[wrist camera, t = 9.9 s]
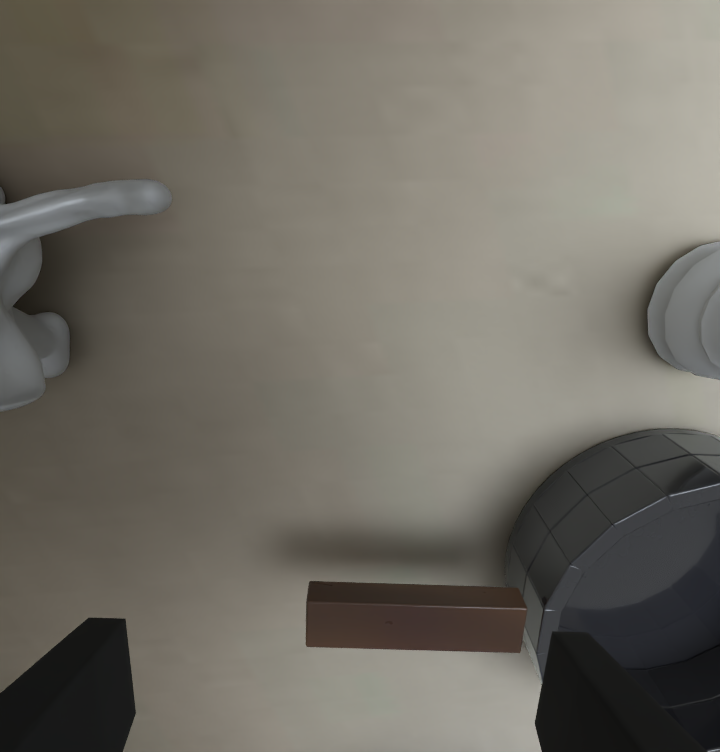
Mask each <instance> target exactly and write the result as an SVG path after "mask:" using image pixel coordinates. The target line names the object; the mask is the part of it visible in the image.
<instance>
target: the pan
mask: <svg viewBox="0 0 720 752" xmlns="http://www.w3.org/2000/svg"><path fill="white" fill-rule="evenodd" d="M505 580H506V587H516V588H519V590H520V592H521V595H522V597H523V599H524V602H525V604H526V606H527V615H526V621H525V627H524V633H523V640H524V642H525V645H526V647H527V650H528V652H529V655H530V657H531V660H532V662H533V665H534V667H535V670H536V672H537V675H538V677H539V680H540V682H541V685H542V682H543V677H544V671H545V666H546V661H547V655H548V650H549V645H550V639H551V634H552V631H558V632H588V633H589V634H590V635H591V636H592V637H593V638H594V639H595V640H596V641H597V642H598V643H599V644H600V645H601V646H602V647H603V648H604V649H605V650H606V651H607V652H608V653H609V654H610V655H611V656H612V657H613V658H614V659H615V660H616V661H617V662H618V663H619V664H620V665H621V666H622V667H623V668H624V669H625V670H626V671H627V672H628V673H629V674H630V675H631V676H632V677H633V678H634V679H635V680H636V681H637V682H638V683H639V684H640V685H641V686H642V687H643V688H644V689H645V690H646V691H647V692H648V693H649V694H650V695H651V696H652V697H653V698H654V699H655V700H656V701H657V702H658V703H659V704H660V706H661V707H662V708H663V709H664V710H666V711H667V712H668V713H669V714H670V715H671V716H672V717H673V718H674V719H675V720H676V721H677V722H678V723H679V724H680V725H681V726H682V727H683V728H684V729H685V730H686V731H687V732H688V733H689V734H690V735H691V736H692V737H693V738H694V739H695V740H696V741H697V742H698V743H699V744H700V745H701V746H702V747H703V748H704V749H705V750H706V751H707V752H720V437H719V436H717V435H713V434H709V433H704V432H700V431H694V430H684V429H655V430H648V431H641V432H635V433H632V434H628V435H624V436H620V437H617V438H614V439H611V440H609V441H606V442H604V443H601V444H598V445H596V446H594V447H592V448H590V449H589V450H587V451H585V452H583V453H581V454H579V455H578V456H576V457H575V458H573V459H572V460H570V461H569V462H567V463H566V464H564V465H563V466H561V467H560V468H559V469H558V470H557V471H556V472H554V473H553V474H552V475H551V476H550V477H549V478H547V480H546V481H545V482H544V483H543V484H542V485H541V486H540V487H539V488H538V489H537V490H536V491H535V493H534V494H533V495H532V497H531V498H530V499H529V501H528V502H527V504H526V505H525V506H524V508H523V510H522V512H521V513H520V515H519V517H518V519H517V521H516V523H515V525H514V528H513V531H512V533H511V536H510V539H509V543H508V547H507V552H506V559H505Z"/></svg>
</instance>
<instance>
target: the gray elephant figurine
mask: <svg viewBox="0 0 720 752" xmlns="http://www.w3.org/2000/svg"><path fill="white" fill-rule="evenodd" d="M171 202H172V195H171V192H170V190H169V189H168V188H167V187H166V186H165V185H164V184H163V183H161V182H159V181H156V180H150V179H136V180H116V181H108V182H102V183H94V184H90V185H87V186H84V187H79V188H73V189H62V190H55V191H51V192H46V193H41V194H37V195H34V196H32V197H29V198H26V199H23V200H20V201H17V202H14V203H10V204H4V203H5V194H4V191H3V189H2V188H1V186H0V411H6V410H11V409H15V408H19V407H22V406H25V405H27V404H29V403H32V402H33V401H35V400H37V399H38V398H40V397H41V396H42V395H43V394H44V392H45V389H46V385H45V378H52V377H56V376H58V375H60V374H62V373H63V372H64V371H65V370H66V368H67V366H68V364H69V359H70V333H69V328H68V325H67V323H66V321H65V320H64V319H63V318H62V317H61V316H60V315H58V314H56V313H52V312H43V313H39V314H36V315H28V314H26V313H24V312H22V311H20V310H18V309H16V308H14V307H13V305H14V304H15V303H16V302H17V300H18V299H19V298H20V297H21V296H22V295H23V294H24V293H26V292H27V291H28V290H29V289H30V288H31V287H32V286H33V285H34V283H35V282H36V280H37V278H38V275H39V273H40V269H41V265H42V247H41V242H40V239H39V237H41V236H44V235H47V234H51V233H55V232H58V231H60V230H63V229H66V228H69V227H72V226H75V225H77V224H80V223H82V222H85V221H88V220H93V219H97V218H109V217H116V216H122V215H153V214H157V213H160V212H163V211H165V210H166V209H167V208H168V207H169V206H170V205H171Z"/></svg>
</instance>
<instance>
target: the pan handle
mask: <svg viewBox="0 0 720 752" xmlns="http://www.w3.org/2000/svg"><path fill="white" fill-rule="evenodd" d="M526 615H527V606H526V604H525V602H524V599H523V597H522V595H521V592H520V590H519V588H516V587H484V586H451V585H419V584H387V583H355V582H323V581H310V582H309V586H308V594H307V601H306V646H307V647H329V648H364V649H399V650H434V651H468V652H503V653H520V651H521V645H522V639H523V633H524V627H525V621H526Z"/></svg>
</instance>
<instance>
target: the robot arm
mask: <svg viewBox="0 0 720 752" xmlns="http://www.w3.org/2000/svg"><path fill="white" fill-rule="evenodd" d="M135 714H136V710H135V701H134V692H133V683H132V674H131V665H130V656H129V647H128V638H127V629H126V620H125V619H117V618H88V619H87V620H85V621H84V622H83V623H82V624H81V625H79V626H78V627H77V628H76V629H75V630H74V631H72V632H71V633H70V634H69V635H68V636H67V637H65V638H64V639H63V640H62V641H61V642H60V643H58V644H57V645H56V646H55V647H54V648H53V649H51V650H50V651H49V652H48V653H47V654H46V655H44V656H43V657H42V658H41V659H40V660H39V661H37V662H36V663H35V664H34V665H33V666H32V667H30V668H29V669H28V670H27V671H26V672H25V673H23V674H22V675H21V676H20V677H19V678H18V679H16V680H15V681H14V682H13V683H12V684H11V685H9V686H8V687H7V688H6V689H5V690H4V691H2V692H1V693H0V752H123V749H124V746H125V743H126V740H127V737H128V734H129V731H130V728H131V726H132V723H133V720H134V717H135ZM535 726H536V730H537V734H538V738H539V742H540V746H541V750H542V752H707V751H706V750H705V749H704V748H703V747H702V746H701V745H700V744H699V743H698V742H697V741H696V740H695V739H694V738H693V737H692V736H691V735H690V734H689V733H688V732H687V731H686V730H685V729H684V728H683V727H682V726H681V725H680V724H679V723H678V722H677V721H676V720H675V719H674V718H673V717H672V716H671V715H670V714H669V713H668V712H667V711H666V710H664V709H663V708H662V707H661V706H660V704H659V703H658V702H657V701H656V700H655V699H654V698H653V697H652V696H651V695H650V694H649V693H648V692H647V691H646V690H645V689H644V688H643V687H642V686H641V685H640V684H639V683H638V682H637V681H636V680H635V679H634V678H633V677H632V676H631V675H630V674H629V673H628V672H627V671H626V670H625V669H624V668H623V667H622V666H621V665H620V664H619V663H618V662H617V661H616V660H615V659H614V658H613V657H612V656H611V655H610V654H609V653H608V652H607V651H606V650H605V649H604V648H603V647H602V646H601V645H600V644H599V643H598V642H597V641H596V640H595V639H594V638H593V637H592V636H591V635H590V634H589V633H588V632H558V631H552V634H551V639H550V645H549V650H548V655H547V661H546V666H545V671H544V677H543V682H542V688H541V693H540V698H539V704H538V709H537V714H536V720H535Z"/></svg>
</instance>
